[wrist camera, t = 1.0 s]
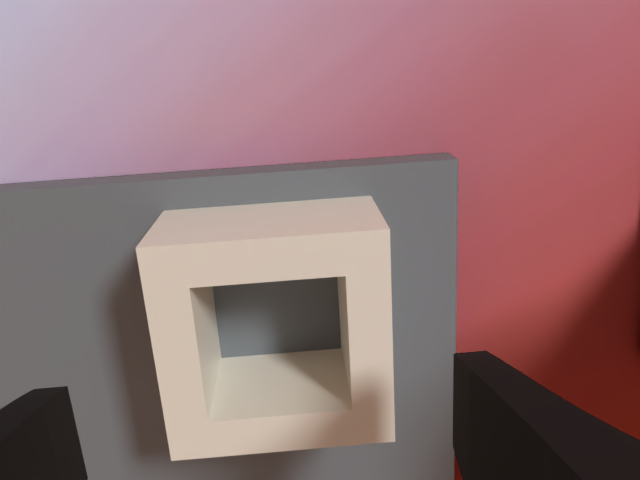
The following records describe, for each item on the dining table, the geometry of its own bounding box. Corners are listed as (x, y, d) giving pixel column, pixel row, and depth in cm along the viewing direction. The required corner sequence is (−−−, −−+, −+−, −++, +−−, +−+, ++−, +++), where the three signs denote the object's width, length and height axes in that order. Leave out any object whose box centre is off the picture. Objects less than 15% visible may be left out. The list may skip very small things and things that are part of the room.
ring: (371, 195, 15) (389, 228, 13) (377, 376, 17) (395, 441, 14) (163, 210, 15) (135, 248, 12) (190, 391, 17) (171, 460, 14)
